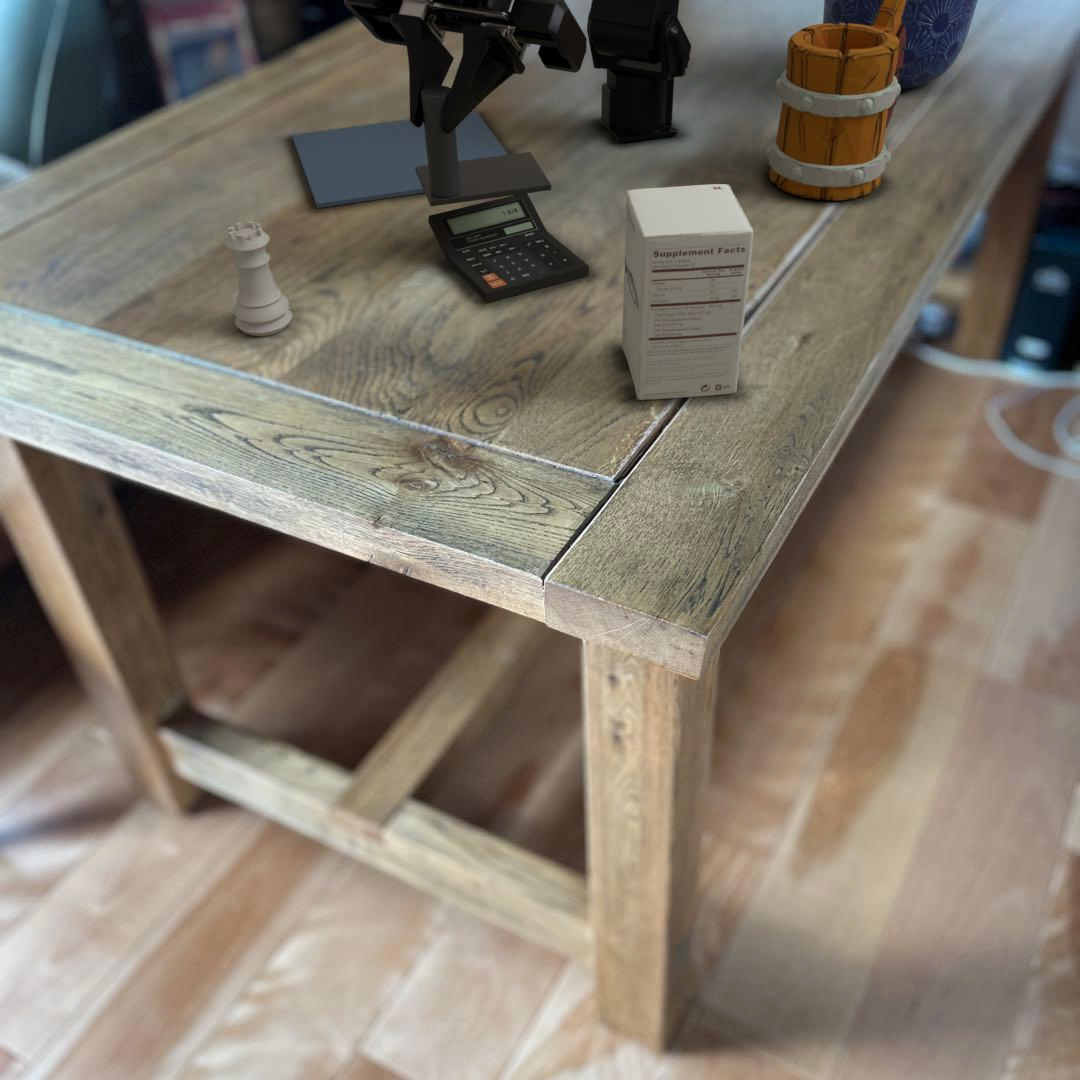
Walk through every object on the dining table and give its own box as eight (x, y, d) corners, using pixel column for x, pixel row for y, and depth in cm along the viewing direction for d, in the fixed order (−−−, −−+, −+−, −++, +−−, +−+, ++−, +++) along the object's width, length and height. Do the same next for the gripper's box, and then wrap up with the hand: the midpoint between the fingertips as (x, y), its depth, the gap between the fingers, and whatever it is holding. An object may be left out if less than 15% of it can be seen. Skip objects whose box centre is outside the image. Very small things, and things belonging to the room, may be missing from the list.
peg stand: (530, 157, 95) (527, 54, 90) (551, 190, 90) (549, 83, 84) (415, 172, 94) (404, 68, 88) (430, 206, 88) (420, 98, 83)
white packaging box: (619, 348, 83) (624, 186, 75) (717, 342, 84) (732, 180, 75) (634, 403, 78) (640, 235, 70) (738, 396, 78) (757, 228, 70)
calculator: (487, 303, 89) (485, 268, 87) (430, 246, 97) (427, 213, 95) (588, 275, 92) (588, 241, 90) (525, 222, 100) (524, 190, 98)
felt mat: (476, 115, 121) (476, 110, 120) (522, 178, 108) (522, 173, 107) (292, 139, 117) (291, 134, 116) (317, 208, 103) (316, 203, 103)
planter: (937, 113, 118) (971, -44, 108) (787, 87, 125) (805, -63, 115) (981, 66, 129) (1015, -81, 119) (840, 45, 135) (861, -96, 125)
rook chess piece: (303, 314, 88) (286, 219, 83) (275, 342, 85) (255, 245, 80) (254, 306, 90) (234, 212, 84) (225, 333, 86) (202, 237, 81)
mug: (742, 183, 106) (758, 15, 96) (834, 133, 114) (858, -26, 105) (841, 214, 100) (870, 39, 90) (930, 159, 109) (965, -6, 99)
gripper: (340, -148, 81) (272, 56, 81) (568, -129, 74) (493, 95, 74) (411, -54, 91) (350, 127, 91) (616, -30, 84) (551, 166, 84)
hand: (429, 127), depth 85 cm, fingers closed on peg stand, 2 cm apart
